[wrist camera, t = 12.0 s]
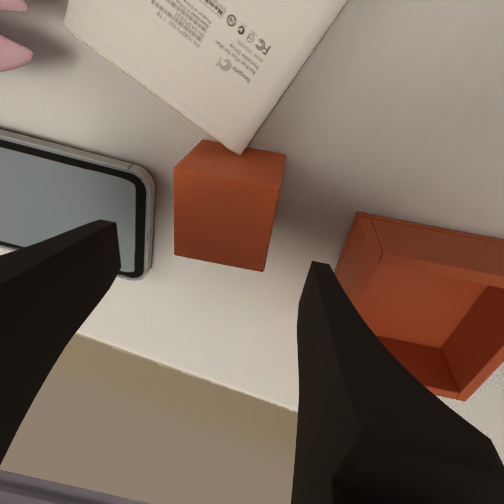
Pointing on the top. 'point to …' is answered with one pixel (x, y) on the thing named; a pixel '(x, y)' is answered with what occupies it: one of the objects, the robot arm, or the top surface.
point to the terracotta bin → (429, 298)
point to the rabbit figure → (6, 51)
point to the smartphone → (73, 197)
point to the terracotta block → (226, 204)
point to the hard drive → (208, 53)
